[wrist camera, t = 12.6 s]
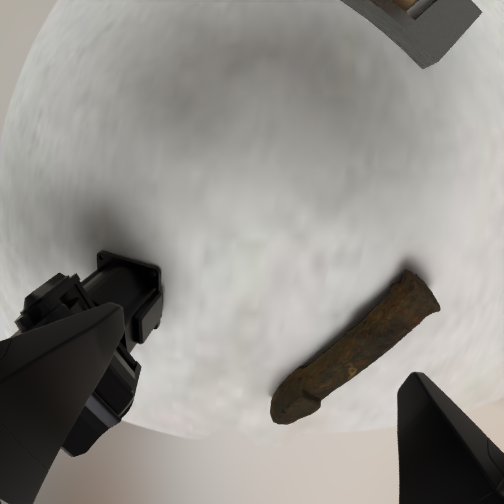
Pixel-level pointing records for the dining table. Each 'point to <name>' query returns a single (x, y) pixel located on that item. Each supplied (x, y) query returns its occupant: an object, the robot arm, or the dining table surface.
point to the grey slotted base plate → (420, 25)
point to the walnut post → (405, 3)
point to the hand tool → (355, 350)
